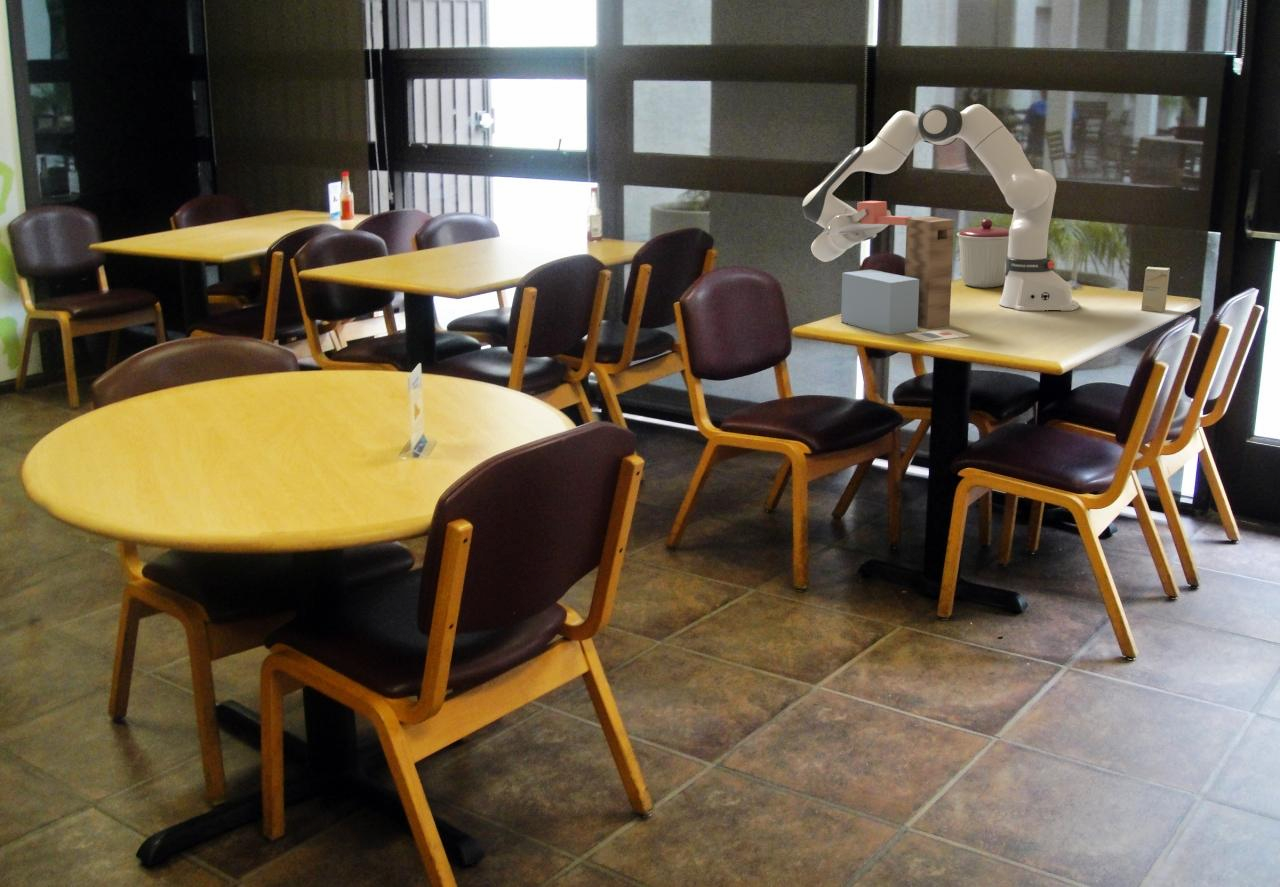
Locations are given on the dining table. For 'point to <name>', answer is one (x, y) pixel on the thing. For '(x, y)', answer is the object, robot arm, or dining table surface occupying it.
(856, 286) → the base block
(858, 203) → the peg brick
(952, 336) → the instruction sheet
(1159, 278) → the skincare box
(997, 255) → the canister
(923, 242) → the stand
